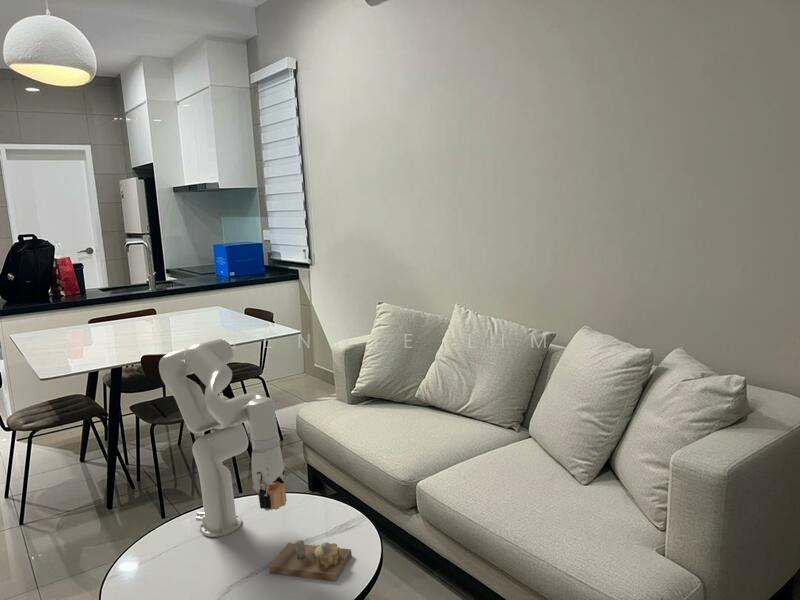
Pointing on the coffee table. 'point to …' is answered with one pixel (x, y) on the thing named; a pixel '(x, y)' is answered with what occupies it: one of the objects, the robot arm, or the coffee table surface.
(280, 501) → the loose gear
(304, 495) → the coffee table surface
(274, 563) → the gear board
